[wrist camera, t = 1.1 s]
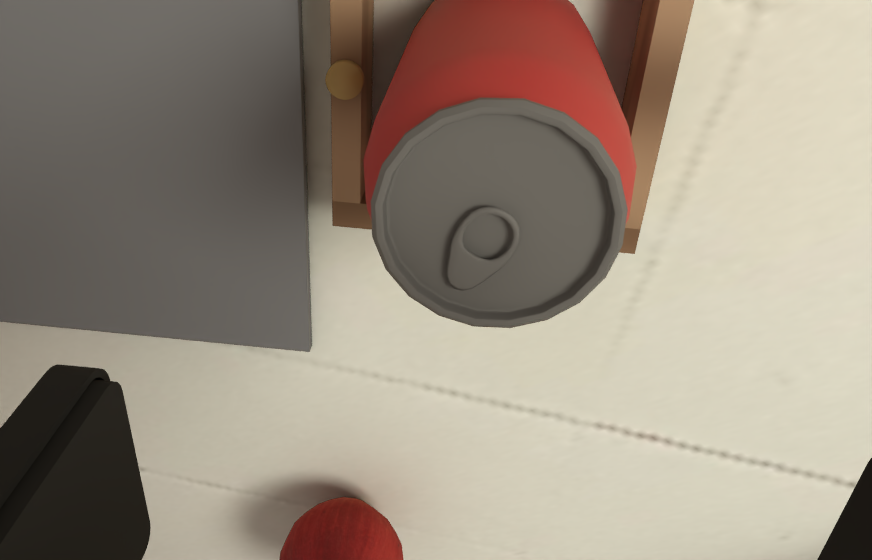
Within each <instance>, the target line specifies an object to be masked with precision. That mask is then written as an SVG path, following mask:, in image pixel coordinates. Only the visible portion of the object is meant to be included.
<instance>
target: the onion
mask: <svg viewBox="0 0 872 560" xmlns="http://www.w3.org/2000/svg"><path fill="white" fill-rule="evenodd" d="M280 560H403V552H402V545H401V542H400V540H399V538H398V536H397V534H396V532H395V530H394V529H393V527H392V526H391V524H390V522H389V521H388V519H387V518H385V517H384V516H383V515H382V514H380V513H379V512H378V511H377V510H375V509H374V508H373V507H371V506H370V505H368V504H367V503H365V502H364V501H362V500H359V499H356V498H347V497H341V498H336V499H331V500H328V501H325V502H322V503H320V504H318V505H316V506H315V507H313V508H312V509H310V510H309V511H307V512H306V513H305V514H304V515H303V516H301V517H300V518H299V519H298V520H297V521H296V522H295V523H294V525H293V527H292V529H291V531H290V533H289V535H288V537H287V539H286V541H285V543H284V546H283V548H282V550H281V552H280Z"/></svg>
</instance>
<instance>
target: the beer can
mask: <svg viewBox="0 0 872 560" xmlns="http://www.w3.org/2000/svg"><path fill="white" fill-rule="evenodd" d="M363 161H364V179H365V196H366V205H367V211H368V213H369V216H370V218H371V221H372V237H373V240H374V242H375V244H376V247H377V249H378V252H379V254H380V256H381V259H382V261H383V264H384V266H385V268H386V270H387V271H388V272H389V274H390V275H391V276H392V277H393V278H394V279H395V281H396V282H397V283H398V284H399V285H400V286H401V288H402V289H403V290H404V291H405V292H406V293H407V295H408V296H409V297H411V298H412V299H414V300H416V301H417V302H419V303H420V304H422V305H423V306H425V307H427V308H428V309H430V310H431V311H433V312H434V313H436V314H437V315H439V316H442V317H445V318H449V319H452V320H455V321H458V322H462V323H465V324H468V325H471V326H478V327H502V328H512V327H517V326H521V325H526V324H531V323H535V322H540V321H544V320H548V319H550V318H551V317H553V316H555V315H557V314H559V313H561V312H563V311H565V310H567V309H569V308H570V307H572V306H574V305H576V304H578V303H580V302H581V301H582V300H583V299H584V298H585V297H586V296H587V295H588V294H589V293H590V292H591V291H592V290H593V289H594V288H595V287H596V286H597V285H598V284H599V283H600V282H601V281H602V280H603V279H604V278H606V276H607V274H608V272H609V270H610V268H611V266H612V264H613V262H614V261H615V259H616V257H617V255H618V253H619V251H620V249H621V247H622V245H623V238H624V231H625V225H626V223H627V221H628V219H629V214H630V208H631V202H632V195H633V188H634V181H635V175H636V168H637V165H636V161H635V156H634V151H633V146H632V141H631V136H630V131H629V126H628V124H627V121H626V119H625V117H624V114H623V112H622V109H621V107H620V104H619V102H618V99H617V97H616V95H615V92H614V90H613V87H612V85H611V82H610V80H609V77H608V75H607V73H606V70H605V68H604V65H603V63H602V60H601V58H600V56H599V53H598V51H597V48H596V46H595V43H594V41H593V38H592V36H591V34H590V31H589V29H588V28H587V26H586V25H585V23H584V21H583V20H582V18H581V16H580V15H579V13H578V11H577V10H576V8H575V6H574V5H573V4H572V3H571V2H569V1H568V0H435V1H434V2H432V3H431V5H430V6H429V8H428V9H427V10H426V12H425V13H424V15H423V16H422V18H421V19H420V21H419V22H418V24H417V25H416V26H415V28H414V30H413V32H412V34H411V37H410V39H409V41H408V44H407V46H406V48H405V51H404V53H403V55H402V58H401V60H400V62H399V65H398V67H397V69H396V72H395V74H394V76H393V79H392V81H391V83H390V86H389V88H388V90H387V93H386V95H385V97H384V100H383V102H382V104H381V107H380V109H379V111H378V114H377V116H376V118H375V121H374V124H373V128H372V131H371V134H370V138H369V141H368V145H367V148H366V152H365V155H364V159H363Z"/></svg>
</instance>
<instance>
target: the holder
mask: <svg viewBox="0 0 872 560" xmlns="http://www.w3.org/2000/svg"><path fill="white" fill-rule="evenodd" d="M693 4H694V0H643V5H642V9H641V14H640V19H639V24H638V29H637V34H636V39H635V44H634V49H633V54H632V59H631V64H630V69H629V74H628V79H627V84H626V89H625V94H624V99H623V104H622V112H623V114H624V117H625V119H626V121H627V124H628V126H629V131H630V136H631V141H632V146H633V151H634V156H635V161H636V165H637V168H636V175H635V181H634V188H633V195H632V202H631V208H630V214H629V219H628V221H627V223H626V225H625V231H624V238H623V245H622V247H621V249H620V251H619V252H621V253H632V254H635V250H636V245H637V241H638V237H639V233H640V228H641V224H642V220H643V216H644V212H645V207H646V203H647V199H648V195H649V190H650V186H651V182H652V178H653V173H654V169H655V165H656V161H657V156H658V152H659V148H660V144H661V139H662V135H663V131H664V127H665V122H666V118H667V114H668V110H669V105H670V101H671V97H672V93H673V88H674V84H675V80H676V76H677V71H678V67H679V63H680V59H681V54H682V50H683V46H684V42H685V38H686V33H687V29H688V25H689V21H690V16H691V12H692V8H693ZM373 16H374V0H330V36H331V67H330V68H329V70H328V72H327V74H326V79H325V81H326V86H327V88H328V90H329V92H330V93H331V125H332V214H333V226H341V227H352V228H362V229H372V221H371V218H370V216H369V213H368V211H367V205H366V196H365V179H364V161H363V159H364V155H365V152H366V148H367V145H368V141H369V138H370V134H371V125H372V71H373Z"/></svg>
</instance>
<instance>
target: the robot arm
mask: <svg viewBox="0 0 872 560" xmlns="http://www.w3.org/2000/svg"><path fill="white" fill-rule="evenodd" d="M149 537H150V520H149V515H148V510H147V505H146V501H145V496H144V491H143V486H142V482H141V477H140V472H139V467H138V463H137V458H136V453H135V448H134V443H133V439H132V434H131V429H130V424H129V420H128V415H127V410H126V405H125V401H124V396H123V391H122V388H121V385H120V384H119V383H118V382H113V381H110V378H109V376H108V373H107V372H106V371H105V370H104V369H99V368H89V367H78V366H68V365H55V366H52V367H51V368H50V369H49V370H48V371H47V372H46V373H45V374H44V375H43V377H42V378H41V379H40V380H39V381H38V383H37V384H36V385H35V386H34V388H33V389H32V390H31V391H30V393H29V394H28V395H27V396H26V397H25V399H24V400H23V401H22V402H21V404H20V405H19V406H18V407H17V409H16V410H15V411H14V412H13V413H12V415H11V416H10V417H9V418H8V420H7V421H6V422H5V423H4V425H3V426H2V427H1V428H0V560H142V558H143V556H144V553H145V551H146V548H147V545H148V542H149ZM818 560H872V458H871V459H870V461H869V462H868V464H867V466H866V467H865V469H864V471H863V473H862V475H861V477H860V479H859V481H858V483H857V485H856V487H855V489H854V490H853V492H852V494H851V496H850V498H849V500H848V502H847V504H846V506H845V508H844V510H843V512H842V513H841V515H840V517H839V519H838V521H837V523H836V525H835V527H834V529H833V531H832V533H831V535H830V537H829V538H828V540H827V542H826V544H825V546H824V548H823V550H822V552H821V554H820V556H819V558H818Z"/></svg>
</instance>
